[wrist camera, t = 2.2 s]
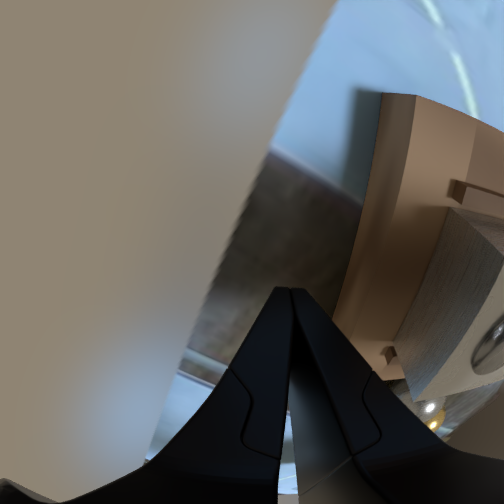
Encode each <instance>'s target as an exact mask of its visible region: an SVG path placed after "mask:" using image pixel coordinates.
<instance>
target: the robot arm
mask: <svg viewBox="0 0 504 504" xmlns="http://www.w3.org/2000/svg"><path fill="white" fill-rule="evenodd" d="M372 370H373V368H372V367H371V366H370V365H369V363H368V362H367V361H366V360H365V359H364V357H363V356H362V355H361V354H360V353H359V352H358V350H357V349H356V348H355V347H354V346H353V344H352V343H351V342H350V341H349V340H348V338H347V337H346V336H345V335H344V334H343V333H342V331H341V330H340V329H339V328H338V327H337V326H336V324H335V323H334V322H333V321H332V320H331V318H330V317H329V316H328V315H327V314H326V313H325V311H324V310H323V309H322V308H321V307H320V306H319V304H318V303H317V302H316V301H315V300H314V299H313V297H312V296H311V295H310V294H309V293H308V292H307V290H306V289H304V288H293V287H292V288H290V289H289V288H288V287H278V286H276V287H274V289H273V290H272V292H271V294H270V296H269V297H268V299H267V301H266V303H265V304H264V306H263V308H262V310H261V311H260V313H259V315H258V317H257V318H256V320H255V322H254V324H253V325H252V327H251V329H250V330H249V332H248V334H247V336H246V337H245V339H244V341H243V342H242V344H241V346H240V348H239V349H238V351H237V353H236V354H235V356H234V358H233V359H232V361H231V363H230V364H229V366H228V369H226V371H225V372H224V374H223V376H222V377H221V379H220V380H219V382H218V383H217V385H216V386H215V388H214V389H213V391H212V392H211V394H210V395H209V397H208V398H207V399H206V400H205V402H204V403H203V404H202V405H201V407H200V408H199V409H198V410H197V411H196V413H195V414H194V415H193V416H192V417H191V418H190V419H189V421H188V422H187V423H186V424H185V425H184V426H183V427H182V428H181V429H180V431H179V432H178V433H177V434H176V435H175V436H174V437H173V438H172V439H171V440H170V441H169V443H168V444H167V445H166V446H165V447H164V448H163V449H162V450H161V451H160V452H159V453H158V454H157V455H156V456H155V457H153V458H152V459H151V460H150V461H149V462H147V463H146V464H145V465H143V466H142V467H140V468H139V469H137V470H135V471H133V472H131V473H129V474H127V475H125V476H123V477H121V478H119V479H117V480H115V481H113V482H111V483H109V484H107V485H104V486H102V487H100V488H98V489H96V490H93V491H91V492H89V493H86V494H84V495H82V496H79V497H77V498H74V499H71V500H68V501H65V502H61V503H58V502H56V501H53V500H51V499H49V498H46V497H44V496H42V495H40V494H37V493H35V492H33V491H31V490H29V489H27V488H25V487H23V486H21V485H19V484H17V483H15V482H13V481H11V480H8V479H5V478H3V479H0V504H278V480H279V470H280V460H281V455H282V448H283V439H284V431H285V422H286V413H287V404H288V398H289V407H290V417H291V426H292V435H293V445H294V455H295V465H296V476H297V486H298V496H299V504H504V460H501V459H496V458H490V457H486V456H481V455H476V454H471V453H467V452H463V451H460V450H457V449H455V448H453V447H451V446H449V445H448V444H446V443H445V442H444V441H443V440H441V439H440V438H439V437H438V436H437V435H436V434H435V433H434V432H433V431H432V430H431V429H430V428H429V427H428V426H427V425H426V424H424V423H423V422H422V421H421V420H420V419H419V418H418V417H417V416H416V415H415V414H414V413H413V412H412V411H411V410H410V409H409V408H408V407H407V406H406V405H405V404H404V403H403V402H402V401H401V400H400V399H399V398H398V397H397V396H396V395H395V394H394V393H393V391H392V390H391V389H390V388H389V387H388V386H387V385H386V383H385V382H384V381H383V380H382V379H381V378H380V376H379V375H378V374H377V373H376V372H375V371H372Z"/></svg>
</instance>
